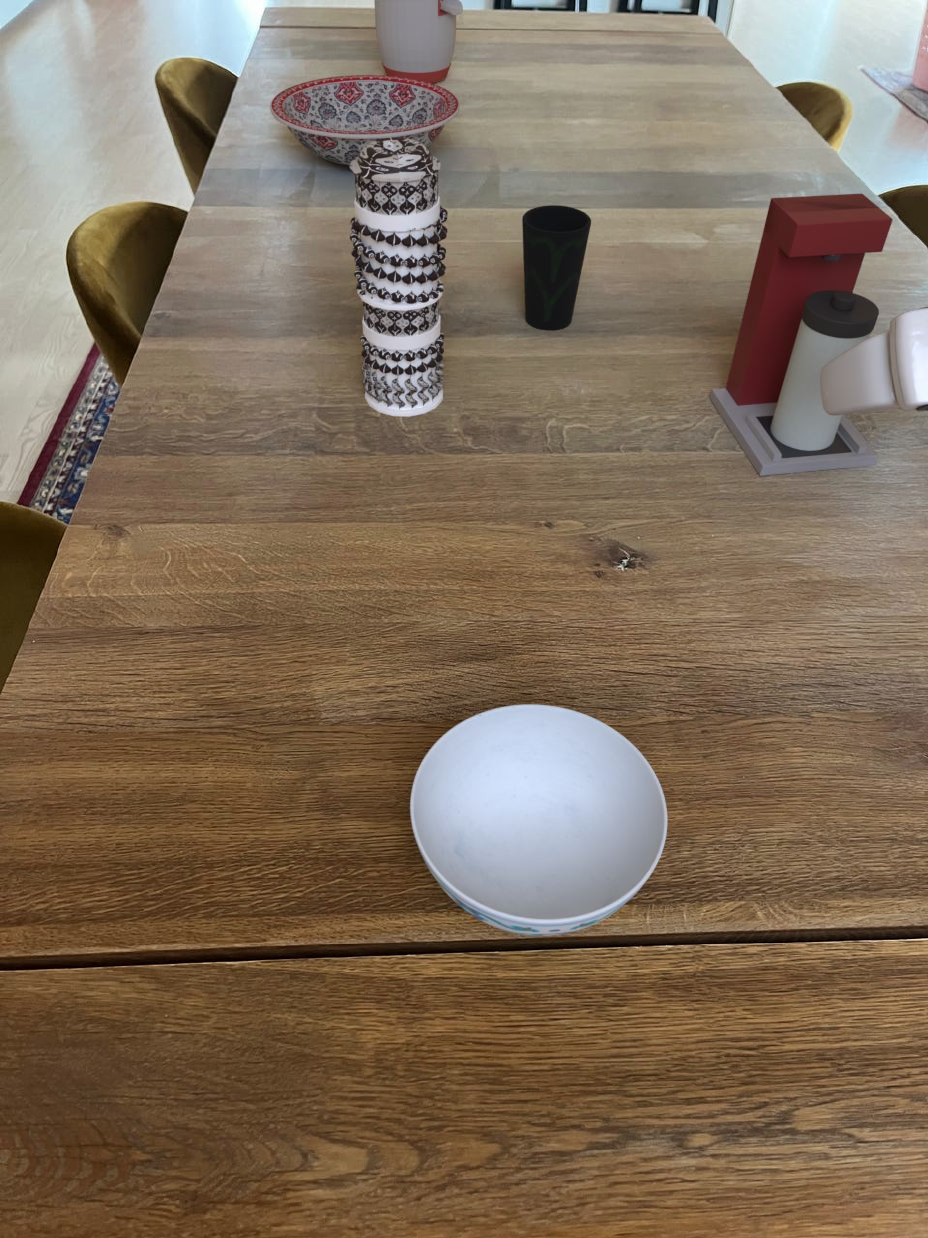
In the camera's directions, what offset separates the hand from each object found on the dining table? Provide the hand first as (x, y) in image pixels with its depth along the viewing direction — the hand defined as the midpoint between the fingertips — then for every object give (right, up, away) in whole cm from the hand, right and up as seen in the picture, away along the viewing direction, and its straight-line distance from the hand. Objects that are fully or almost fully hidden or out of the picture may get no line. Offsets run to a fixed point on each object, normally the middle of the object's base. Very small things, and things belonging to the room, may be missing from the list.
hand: (902, 398), depth 78 cm
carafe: (-2, +1, +17) cm, 17 cm away
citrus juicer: (-44, +86, +104) cm, 142 cm away
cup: (-26, +18, +36) cm, 48 cm away
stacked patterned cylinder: (-42, +6, +23) cm, 49 cm away
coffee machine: (-3, +1, +19) cm, 20 cm away
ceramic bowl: (-51, +56, +73) cm, 105 cm away
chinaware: (-32, -34, -17) cm, 50 cm away
